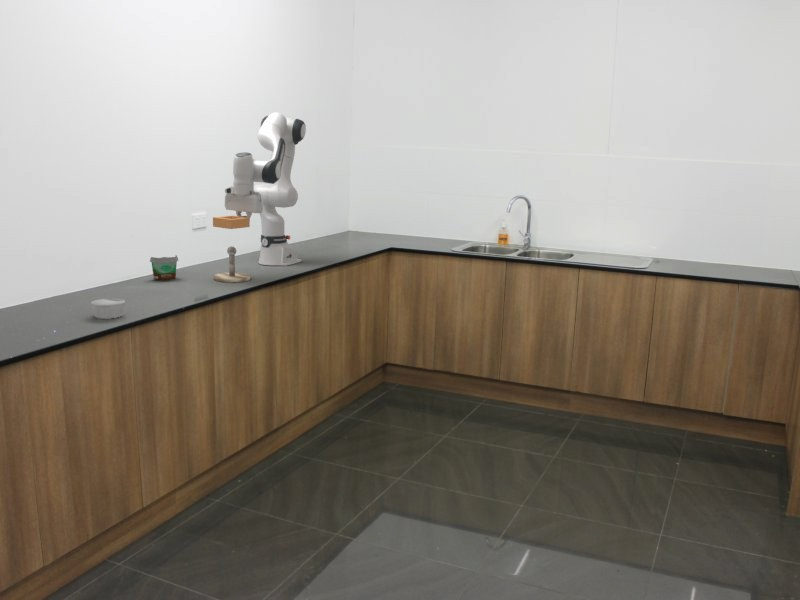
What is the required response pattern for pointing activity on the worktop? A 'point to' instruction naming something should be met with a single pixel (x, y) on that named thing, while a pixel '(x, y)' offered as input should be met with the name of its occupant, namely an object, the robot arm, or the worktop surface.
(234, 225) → the orange square frame
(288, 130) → the robot arm
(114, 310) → the ramekin
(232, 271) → the round peg stand
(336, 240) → the worktop surface
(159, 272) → the food container
